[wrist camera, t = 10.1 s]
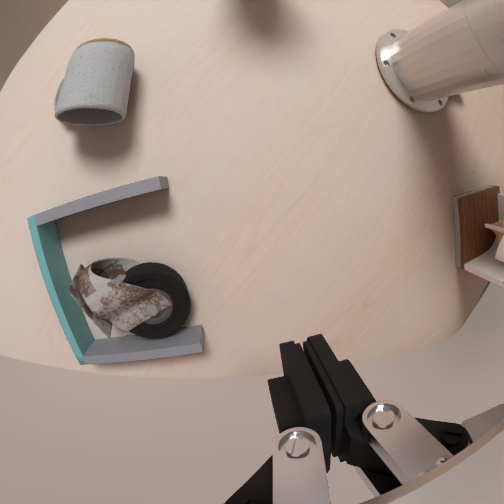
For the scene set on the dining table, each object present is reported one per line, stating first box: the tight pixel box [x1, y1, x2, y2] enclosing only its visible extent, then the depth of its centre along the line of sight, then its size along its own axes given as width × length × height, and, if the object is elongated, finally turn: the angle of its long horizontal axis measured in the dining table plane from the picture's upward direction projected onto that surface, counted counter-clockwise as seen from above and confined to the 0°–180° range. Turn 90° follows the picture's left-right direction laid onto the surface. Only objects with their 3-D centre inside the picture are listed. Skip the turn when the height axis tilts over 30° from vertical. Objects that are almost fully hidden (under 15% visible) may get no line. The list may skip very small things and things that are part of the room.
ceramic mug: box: [54, 38, 134, 126], centre depth 20 cm, size 11×8×8 cm
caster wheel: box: [68, 258, 190, 338], centre depth 28 cm, size 7×11×10 cm
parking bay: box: [27, 176, 204, 365], centre depth 28 cm, size 16×18×4 cm
